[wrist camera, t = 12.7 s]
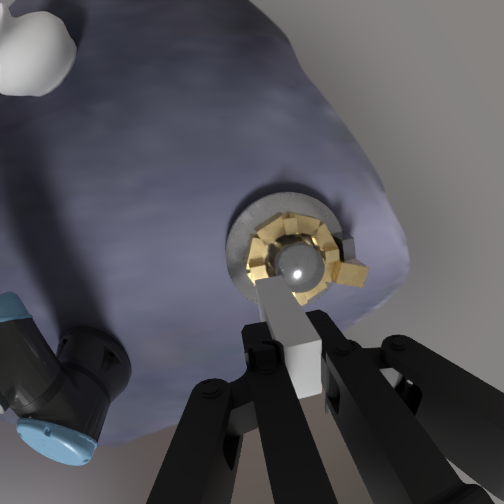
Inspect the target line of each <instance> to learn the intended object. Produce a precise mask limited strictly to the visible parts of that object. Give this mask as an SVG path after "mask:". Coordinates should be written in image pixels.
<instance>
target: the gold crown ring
mask: <svg viewBox="0 0 504 504" xmlns="http://www.w3.org/2000/svg"><path fill="white" fill-rule="evenodd" d="M254 230H255V231H256V233H257V234H254V233H250V236H249V241H248V246H247V250H246V255H245V259H244V264H245V269H246V273H247V275H248V276H249V278H250V279H251V281H252V282H253V283H254V285H255V280H257V279H263V278H269V277H270V276H269V275H268V273H267V272H266V267H265V264H264V262H265V258H266V253H267V249H268V245H269V244H270V243H271V242H273V241H274V240H276V239H277V238H279V237H280V236H282V235H283V234H286V235H290V234H295V233H299V232H301V233H305V234H309V236H310V238H311V239H312V241H313V243H314V245H315V246H316V248H317V251H318V252H319V253H320V254H321V256H322V257H323V260H324V263H325V272H324V275H323V278H322V280H321V281H320V283H319V284H318V285H317V286H316V287H315V288H313V289H312V290H310V291H307V292H303V293H295V292H292V293H293V294H294V296H295V298H296V299H297V301H298V302H299V304H300V305H304V304H307V300H309V299H310V298H312V297H313V296H315V295H316V294H318V293H319V292H321V291H322V290H324V289H325V288H327V285H326V284H325V282H330V283H331V280H333V281H334V282H335V283H337V284H344V285H350V286H357V287H363V285H364V282H365V279H366V276H367V273H368V269H369V267H367V266H366V265H364V264H363V263H361V262H360V261H358V260H357V259H355V258H354V259H350V260H346V261H344V260H343V259H341V258H340V257H339V249H338V247H337V245H336V243H335V241H334V239H333V237H332V236H331V234H330V232H329V230H328V228H327V226H326V225H325V223H323V222H321V221H320V220H319V219H317V218H315V217H313V216H308V215H304V214H300V213H295V212H291V211H286V210H285V212H284V214H283V213H282V212H280V211H279V212H277V213H276V214H274V215H273V216H271V217H270V218H268V219H267V220H265V221H264V222H262V223H261V224H259V225H258V226H256V227H254Z"/></svg>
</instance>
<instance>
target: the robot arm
mask: <svg viewBox="0 0 504 504" xmlns="http://www.w3.org/2000/svg"><path fill="white" fill-rule="evenodd" d="M255 287H256V294H257V300H258V307H259V314H260V320H261V322H260V323H254V324H249V325H245V326H244V328H243V330H242V332H241V333H242V339H243V344H244V350H245V352H244V354H245V359H246V364H247V370H246V372H245V373H244V375H243V376H242V377H240V378H239V379H237V380H235V381H233V382H230V383H228V382H226V381H224V380H222V379H216V378H214V379H207V380H204V381H201V382H200V383H199V384H197V385H196V386H195V387H194V389H193V390H192V392H191V395H190V397H189V400H188V402H187V405H186V407H185V409H184V412H183V414H182V417H181V419H180V422H179V424H178V426H177V429H176V432H175V434H174V436H173V439H172V441H171V444H170V446H169V448H168V451H167V453H166V456H165V458H164V461H163V463H162V466H161V468H160V470H159V473H158V475H157V478H156V480H155V483H154V485H153V488H152V490H151V493H150V495H149V498H148V500H147V502H146V504H230V503H231V498H232V493H233V488H234V483H235V478H236V473H237V467H238V462H239V458H240V452H241V447H242V442H243V434H245V433H247V432H249V431H251V430H254V429H256V428H258V427H259V432H260V436H261V441H262V447H263V451H264V456H265V461H266V466H267V471H268V476H269V480H270V485H271V490H272V494H273V498H274V503H275V504H338V502H337V499H336V497H335V494H334V491H333V489H332V486H331V484H330V481H329V479H328V476H327V473H326V471H325V468H324V465H323V463H322V460H321V458H320V455H319V452H318V450H317V447H316V444H315V442H314V439H313V437H312V434H311V431H310V429H309V426H308V424H307V421H306V418H305V415H304V413H303V410H302V407H301V405H300V402H299V399H300V398H304V397H308V396H312V395H316V394H320V393H322V385H323V387H324V389H325V391H326V394H325V413H328V408H329V409H330V411H331V413H332V416H333V418H334V420H335V422H336V424H337V426H338V428H339V430H340V432H341V435H342V437H343V439H344V441H345V443H346V445H347V447H348V450H349V451H350V454H351V456H352V458H353V460H354V462H355V464H356V466H357V469H358V471H359V473H360V475H361V477H362V479H363V482H364V484H365V486H366V488H367V490H368V492H369V494H370V497H371V499H372V501H373V503H374V504H495V503H494V502H493V501H492V499H491V498H490V496H489V495H488V493H487V492H486V491H485V490H484V489H483V488H482V487H484V488H485V489H486V490H488V491H489V492H490V493H492V494H493V495H494V496H496V497H497V498H499V499H501V500H502V501H504V393H503V392H501V391H499V390H497V389H496V388H494V387H493V386H491V385H489V384H488V383H486V382H484V381H483V380H481V379H479V378H478V377H476V376H474V375H472V374H471V373H469V372H467V371H466V370H464V369H462V368H460V367H459V366H457V365H455V364H454V363H452V362H450V361H449V360H447V359H445V358H444V357H442V356H440V355H439V354H437V353H435V352H434V351H432V350H430V349H429V348H427V347H425V346H423V345H422V344H420V343H418V342H417V341H415V340H413V339H411V338H410V337H407V336H405V335H392V336H389V337H386V338H385V339H384V340H383V342H382V345H381V347H378V348H362V347H361V346H360V345H359V344H358V343H357V342H355V341H352V340H347V339H346V338H345V337H344V335H343V334H342V333H341V331H340V330H339V329H338V327H337V326H336V325H335V323H334V322H333V321H332V320H331V318H330V317H329V315H328V314H327V313H325V312H323V311H321V310H315V311H310V312H306V313H305V312H304V310H303V309H302V307H301V306H300V304H299V302H298V301H297V299H296V298H295V296H294V294H293V293H292V291H291V290H290V288H289V287H288V285H287V283H286V282H285V280H284V279H283V277H282V275H280V276H274V277H269V278H263V279H257V280H255ZM32 318H33V317H32V315H31V314H29V312H28V311H27V309H26V308H25V306H24V304H23V302H22V301H21V299H20V297H19V296H18V295H17V294H15V293H13V292H6V293H3V294H1V295H0V413H1V414H3V413H4V412H5V411H6V410H7V409H8V408H9V407H10V408H11V409H12V410H13V411H14V413H15V414H16V415H17V416H18V417H19V419H18V420H17V425H16V429H17V432H18V433H19V435H20V437H21V438H22V439H23V440H24V441H25V442H26V443H27V444H28V445H29V446H31V447H32V448H33V449H35V450H36V451H38V452H39V453H41V454H43V455H44V456H46V457H48V458H50V459H53V460H55V461H58V462H60V463H64V464H68V465H75V466H76V465H84V464H86V463H88V462H89V461H90V459H91V457H92V454H93V452H94V449H95V448H96V447H97V443H98V440H99V436H100V433H101V430H102V427H103V424H104V421H105V418H106V415H107V412H108V408H109V406H110V403H111V402H112V401H113V400H114V399H115V398H116V397H117V396H118V395H119V394H120V393H121V392H123V391H124V389H125V388H126V386H127V385H128V382H129V379H130V376H131V365H130V362H129V359H128V357H127V355H126V353H125V352H124V350H123V349H122V348H121V347H120V345H119V344H118V343H117V342H116V341H114V340H113V339H112V338H111V337H109V336H108V335H106V334H105V333H103V332H101V331H99V330H96V329H93V328H89V327H76V328H73V329H71V330H69V331H68V332H67V333H66V334H65V335H64V336H63V337H62V339H61V340H60V342H59V344H58V348H57V352H56V355H55V354H54V353H53V351H52V350H51V348H50V347H49V345H48V344H47V342H46V340H45V339H44V337H43V336H42V334H41V332H40V331H39V329H38V327H37V326H36V324H35V322H34V320H33V319H32ZM407 380H410V381H411V382H413V385H412V384H409V383H408V382H407ZM445 457H446V458H447V459H448V460H449V461H451V462H452V463H453V464H454V465H456V466H457V467H458V468H459V469H461V470H462V471H463V472H464V473H466V474H467V475H468V476H469V477H471V478H472V479H473V480H475V481H476V482H477V483H479V484H480V485H481V486H482V487H481V486H479V485H477V484H465V483H463V482H462V480H461V479H460V478H459V477H458V475H457V474H456V472H455V471H454V469H453V468H452V467H451V465H450V464H449V462H448V461H447V460H446V458H445Z"/></svg>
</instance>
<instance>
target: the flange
mask: <svg viewBox="0 0 504 504" xmlns="http://www.w3.org/2000/svg"><path fill="white" fill-rule="evenodd" d="M285 210H286V211H291V212H295V213H300V214H304V215H308V216H313V217H315V218H317V219H319V220H320V221H321V222H323V223H325V225H326V226H327V228H328V230H329V232H330V234H331V236H332V237H333V239H334V241H335V243H336V245H337V247H338V249H339V257H340V258H341V259H343V260H344V261H346V260H350V259H354V258H356V255H355V244H354V238H353V237H351V236H349V235H347V234H345V233H343V232H342V229H341V226H340V224H339V222H338V220H337V218H336V217H335V215H334V214H333V213H332V211H331V210H330V209H329V208H328V207H327V206H326V205H324V204H323V203H322V202H320V201H319V200H317V199H315V198H313V197H311V196H308V195H305V194H301V193H296V192H284V191H283V192H275V193H271V194H267V195H265V196H263V197H260V198H258V199H257V200H255V201H253V202H252V203H250V204H249V205H248V206H247V207H246V208H245V209H244V210H243V211H241V213H240V214H239V215H238V216H237V218H236V219H235V221H234V223H233V224H232V226H231V229H230V231H229V234H228V238H227V242H226V261H227V268H228V271H229V275H230V277H231V279H232V281H233V283H234V285H235V286H236V288H237V289H238V290H239V291H240V293H241V294H242V295H243V296H244V297H246V298H247V299H248V300H250V301H251V302H253V303H254V304H256V305H258V300H257V294H256V287H255V285H254V283H253V282H252V281H251V279H250V278H249V276H248V275H247V273H246V269H245V264H244V259H245V255H246V250H247V246H248V241H249V236H250V233H254V234H257V233H256V231H255V230H254V227H256V226H258V225H259V224H261V223H262V222H264V221H265V220H267V219H268V218H270V217H271V216H273V215H274V214H276V213H277V212H279V211H280V212H282V213H283V214H284V212H285ZM264 264H265V267H266V272H267V273H268V275H269V276H270V277H274V276H280V275H282V277H283V279H284V280H285V282H286V283H287V285H288V287H289V288H290V290H291V291H292V292H295V293H303V292H307V291H310V290H312V289H313V288H315V287H316V286H317V285H318V284H319V283H320V281H321V280H322V278H323V275H324V272H325V263H324V260H323V257H322V256H321V254H320V253H319V252H318V251H317V248H316V246H315V245H314V243H313V241H312V239H311V238H310V236H309V234H305V233H301V232H299V233H295V234H290V235H286V234H283V235H282V236H280V237H279V238H277V239H276V240H274V241H273V242H271V243H270V244H269V245H268V249H267V253H266V258H265V262H264ZM333 283H334V281H333V280H331V283H330V282H325V284H326V285H327V288H325V289H324V290H322V291H321V292H319V293H318V294H316V295H315V296H313V297H312V298H310V299H309V300H307V304H310V303H311V302H313V301H315V300H317V299H318V298H319V297H320V296H322V295H323V294H324V293H325V292H326V291H327V290H328V289H329V288H330V287H331V285H332V284H333ZM307 304H304V305H300V306H301V307H303V306H305V305H307Z"/></svg>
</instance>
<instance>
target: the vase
mask: <svg viewBox="0 0 504 504" xmlns="http://www.w3.org/2000/svg"><path fill="white" fill-rule="evenodd" d="M76 53H77V48H76V45H75V42H74V40H73V39H72V38H71V37H70V35H69V33H68V31H67V29H66V27H65V25H64V23H63V21H62V20H61V19H60V18H58V17H57V16H55V15H53V14H51V13H49V12H46V11H40V12H33V13H28V14H25V15H23V16H20V17H18V18H14V17H12V16H11V14H10V12H9V9H8V7H7V6H6V5H4V4H2V3H0V93H1V94H4V95H13V96H28V95H30V96H38V97H41V96H43V95H46V94H48V93H51V92H52V91H53V90H54V89H56V88H57V87H58V86H59V85H61V84H62V82H63V81H64V80H65V78H66V77H67V76H68V74H69V73H70V71H71V69H72V67H73V65H74V63H75V60H76Z"/></svg>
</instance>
